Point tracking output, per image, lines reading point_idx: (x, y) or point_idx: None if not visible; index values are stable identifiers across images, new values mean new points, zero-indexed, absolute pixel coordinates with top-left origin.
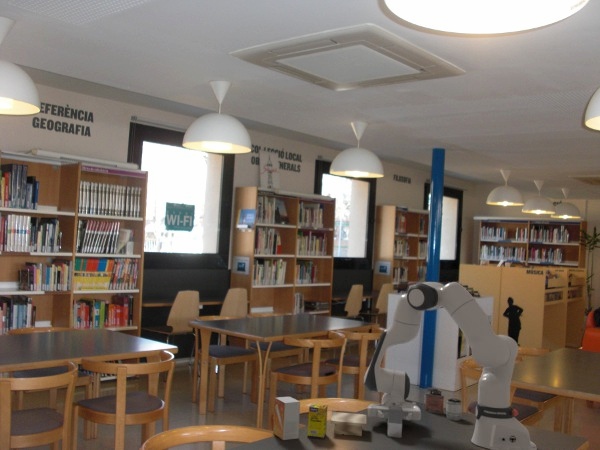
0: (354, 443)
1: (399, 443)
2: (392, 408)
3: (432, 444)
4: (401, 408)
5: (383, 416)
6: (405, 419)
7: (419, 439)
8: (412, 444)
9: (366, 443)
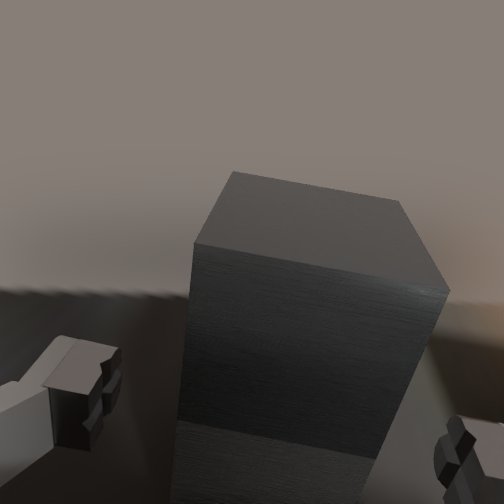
0: (496, 313)
1: None
2: (359, 206)
3: (26, 289)
4: (232, 199)
5: (453, 434)
6: (101, 427)
7: None
8: (170, 293)
9: None
